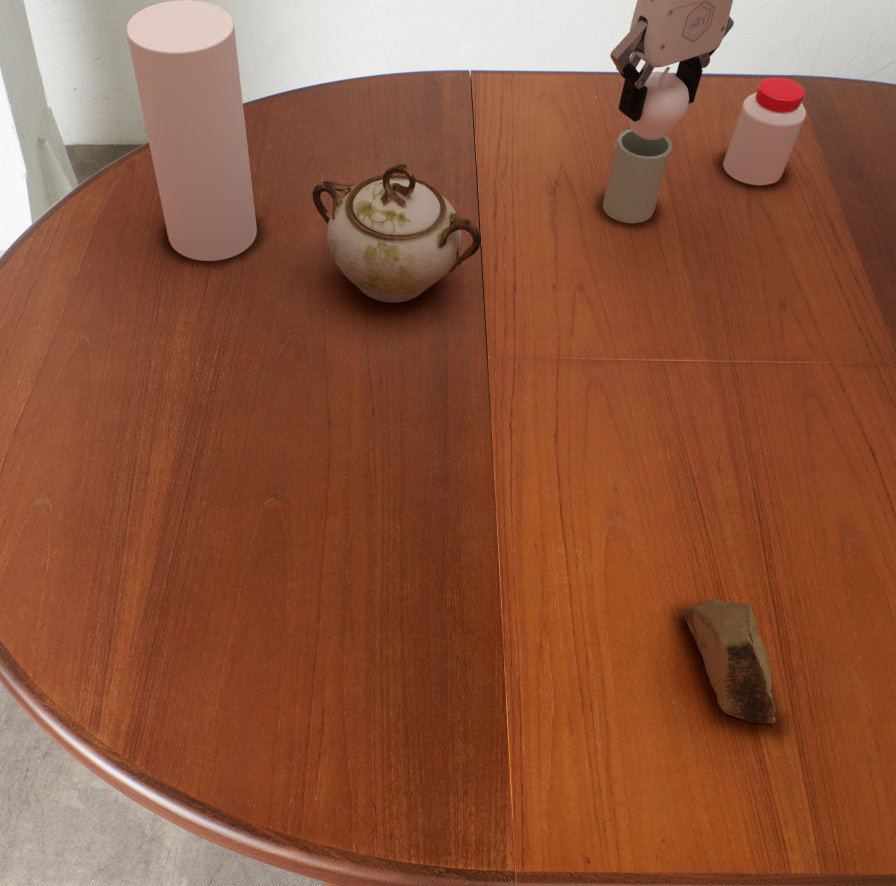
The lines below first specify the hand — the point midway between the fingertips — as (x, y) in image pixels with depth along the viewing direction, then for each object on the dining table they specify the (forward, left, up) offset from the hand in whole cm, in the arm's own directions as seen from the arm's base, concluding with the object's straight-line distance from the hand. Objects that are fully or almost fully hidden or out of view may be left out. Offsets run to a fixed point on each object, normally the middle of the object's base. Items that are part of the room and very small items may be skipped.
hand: (656, 105), depth 107 cm
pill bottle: (-20, +1, -14) cm, 24 cm away
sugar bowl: (+33, -2, -14) cm, 36 cm away
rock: (+33, +55, -14) cm, 66 cm away
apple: (0, 0, -3) cm, 3 cm away
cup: (0, 0, -14) cm, 14 cm away
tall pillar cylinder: (+48, -20, -14) cm, 54 cm away
